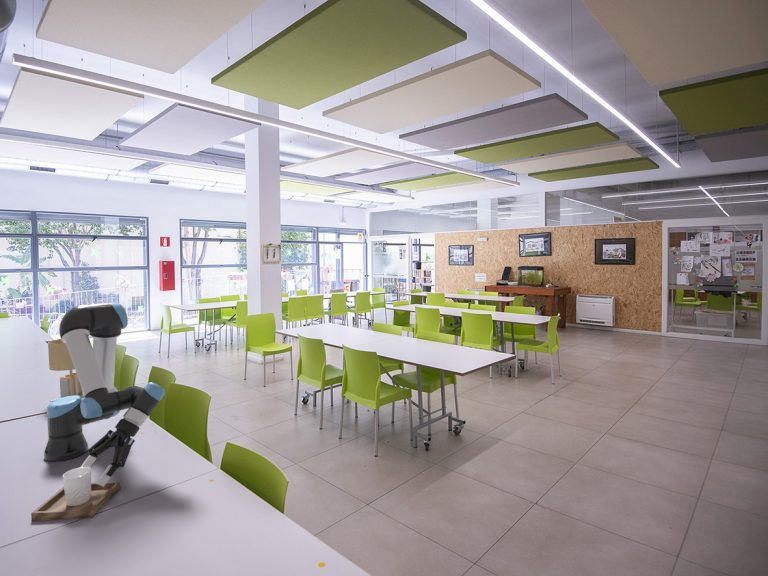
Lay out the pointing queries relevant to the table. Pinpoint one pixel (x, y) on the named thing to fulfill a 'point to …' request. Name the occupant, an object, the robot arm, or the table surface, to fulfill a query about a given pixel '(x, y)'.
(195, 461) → the table surface
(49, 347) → the desk lamp
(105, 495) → the walnut tray
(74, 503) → the white cup
